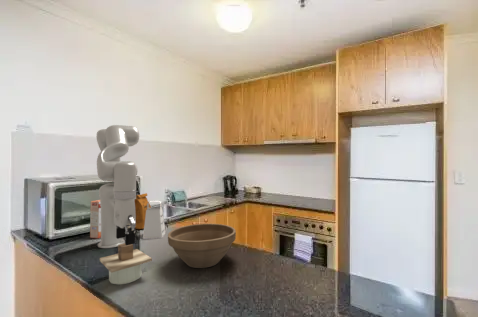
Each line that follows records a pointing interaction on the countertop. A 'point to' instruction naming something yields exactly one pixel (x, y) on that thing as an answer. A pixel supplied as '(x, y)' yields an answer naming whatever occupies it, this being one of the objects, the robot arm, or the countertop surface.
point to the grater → (154, 222)
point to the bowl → (126, 275)
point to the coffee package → (140, 210)
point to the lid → (124, 258)
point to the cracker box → (95, 219)
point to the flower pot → (202, 243)
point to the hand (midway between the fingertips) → (125, 240)
